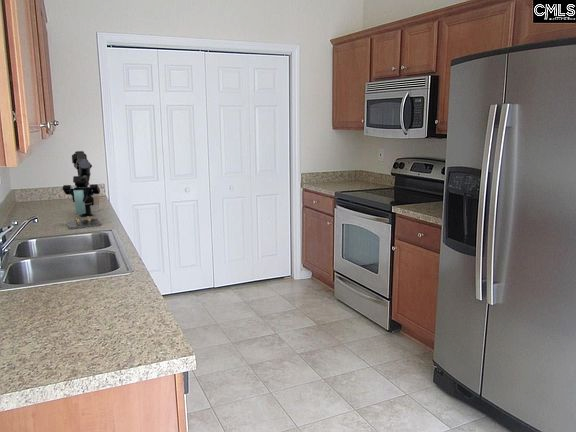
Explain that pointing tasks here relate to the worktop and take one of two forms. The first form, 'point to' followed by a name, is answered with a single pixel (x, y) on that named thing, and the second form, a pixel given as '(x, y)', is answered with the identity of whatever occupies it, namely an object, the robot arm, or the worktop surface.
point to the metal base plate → (83, 223)
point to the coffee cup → (95, 203)
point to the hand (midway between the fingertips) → (78, 201)
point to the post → (79, 201)
